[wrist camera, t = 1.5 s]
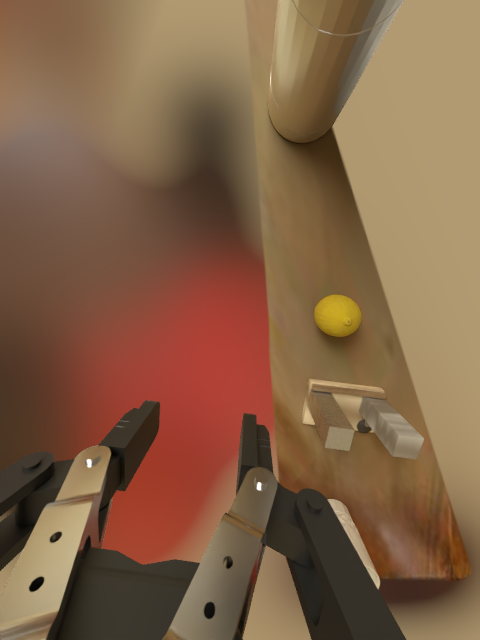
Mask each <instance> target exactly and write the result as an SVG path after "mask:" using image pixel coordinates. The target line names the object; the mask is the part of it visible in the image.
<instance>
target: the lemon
mask: <svg viewBox="0 0 480 640" xmlns="http://www.w3.org/2000/svg"><path fill="white" fill-rule="evenodd" d="M361 316H362V315H361V311H360V309H359V307H358V305H357V304H356V303H355V302H354V301H353V300H352V299H350V298H348V297H346V296H343V295H330V296H327V297H325V298H323V299H322V300H321V301H320V302H319V303H318V304H317V306H316V308H315V311H314V318H315V322H316V324H317V326H318V327H319V328H320V329H321V330H322V331H323V332H325V333H326V334H328V335H331V336H336V337H343V336H347V335H350V334H352V333H353V332H355V331H356V330H357V329H358V327H359V325H360V323H361Z"/></svg>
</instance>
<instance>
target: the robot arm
mask: <svg viewBox="0 0 480 640" xmlns="http://www.w3.org/2000/svg"><path fill="white" fill-rule="evenodd" d="M403 1H404V0H278V5H277V15H276V25H275V35H274V45H273V56H272V66H271V75H270V85H269V96H268V111H269V115H270V119H271V121H272V124H273V126H274V127H275V129H276V130H277V131H278V133H279V134H280V135H282V136H283V137H284V138H286V139H288V140H290V141H292V142H297V143H307V142H311V141H314V140H316V139H318V138H320V137H321V136H323V135H324V134H325V133H326V132H327V131H328V130H329V129H330V128H331V127H332V126H333V124H334V122H335V120H336V118H337V117H338V115H339V113H340V112H341V110H342V108H343V107H344V105H345V103H346V101H347V100H348V98H349V96H350V95H351V93H352V91H353V89H354V88H355V86H356V84H357V82H358V81H359V79H360V77H361V75H362V73H363V72H364V70H365V68H366V66H367V65H368V63H369V61H370V59H371V58H372V56H373V54H374V52H375V51H376V49H377V47H378V45H379V44H380V42H381V40H382V38H383V37H384V35H385V33H386V31H387V29H388V28H389V26H390V24H391V22H392V21H393V19H394V17H395V15H396V14H397V12H398V10H399V8H400V6H401V5H402V3H403ZM159 414H160V403H159V402H155V401H147V400H146V401H145V402H144V403H143V404H142V405H141V407H140V408H139V409H137V408H134V409H132V410H130V411H129V412H127V413H126V414H125V415H124V416H123V417H122V418H121V419H120V421H119V422H118V423H117V424H116V426H115V427H114V428H113V429H112V430H111V431H110V432H109V433H108V435H107V436H106V437H105V438H104V439H103V440H102V441H101V443H100V444H99V445H98V446H94V447H90V448H88V449H86V450H84V451H82V452H81V453H80V454H79V455H78V456H77V457H76V458H75V459H72V460H65V461H56V462H54V457H53V455H52V454H51V453H49V452H37V453H33V454H30V455H28V456H26V457H24V458H22V459H20V460H19V461H17V462H16V463H14V464H12V465H11V466H9V467H8V468H6V469H4V470H3V471H1V472H0V516H2V515H3V514H4V513H5V512H6V511H8V510H9V509H10V508H12V507H13V509H14V512H12V513H11V514H10V515H9V516H8V517H7V518H5V519H4V520H2V521H1V522H0V571H1V570H2V569H3V568H4V567H5V566H6V565H7V564H8V563H9V562H10V561H11V560H12V559H13V558H14V557H15V556H16V555H17V554H18V553H20V552H21V551H22V550H23V551H22V553H21V555H20V557H19V559H18V562H17V563H16V565H15V567H14V569H13V571H12V573H11V575H10V577H9V579H8V581H7V583H6V585H5V587H4V589H3V591H2V593H1V595H0V640H243V639H242V638H243V634H244V630H245V627H246V623H247V619H248V614H249V610H250V606H251V601H252V597H253V593H254V589H255V585H256V581H257V577H258V573H259V570H260V566H261V562H262V558H263V554H264V551H265V547H266V545H267V546H268V547H270V548H272V549H274V550H275V551H277V552H279V553H281V554H283V555H284V556H286V558H287V562H288V565H289V568H290V571H291V574H292V578H293V581H294V584H295V587H296V590H297V594H298V597H299V600H300V603H301V607H302V610H303V613H304V616H305V620H306V623H307V626H308V629H309V632H310V636H311V639H312V640H406V638H405V637H404V635H403V633H402V631H401V630H400V628H399V626H398V624H397V622H396V621H395V619H394V617H393V615H392V613H391V612H390V610H389V608H388V606H387V605H386V603H385V601H384V599H383V598H382V596H381V594H380V592H379V590H378V588H377V587H376V585H375V583H374V581H373V580H372V578H371V576H370V574H369V572H368V571H367V569H366V567H365V565H364V564H363V562H362V560H361V558H360V556H359V555H358V553H357V551H356V549H355V547H354V546H353V544H352V542H351V540H350V539H349V537H348V535H347V533H346V531H345V530H344V528H343V526H342V524H341V523H340V521H339V519H338V517H337V515H336V514H335V512H334V510H333V508H332V507H331V505H330V503H329V501H328V500H327V499H326V498H325V497H324V496H323V495H322V494H321V493H319V492H318V491H316V490H313V489H303V490H301V491H299V493H298V494H296V493H294V492H292V491H290V490H288V489H286V488H284V487H283V486H282V485H280V484H279V483H278V481H277V480H276V477H275V476H274V474H273V466H272V457H271V448H270V438H269V432H268V430H267V429H266V427H265V426H264V425H257V424H256V415H253V414H246V413H244V414H243V421H242V429H241V436H240V446H239V461H238V475H237V489H236V498H235V500H234V502H233V505H232V507H231V509H230V511H229V513H228V514H227V513H225V514H224V515H223V517H222V519H221V521H220V523H219V525H218V527H217V529H216V531H215V533H214V535H213V537H212V540H211V542H210V544H209V546H208V548H207V550H206V552H205V554H204V556H203V558H202V561H201V563H195V562H188V561H182V560H169V561H163V562H157V563H152V564H147V565H142V564H139V563H138V562H136V561H134V560H132V559H130V558H129V557H127V556H125V555H124V554H122V553H120V552H118V551H114V550H107V549H101V548H102V544H103V539H104V535H105V530H106V526H107V522H108V517H109V513H110V509H111V504H112V497H113V495H114V493H115V492H116V490H119V491H125V490H126V488H127V487H128V485H129V483H130V481H131V480H132V478H133V476H134V474H135V473H136V471H137V469H138V467H139V466H140V464H141V462H142V460H143V459H144V457H145V455H146V453H147V451H148V450H149V448H150V446H151V444H152V443H153V441H154V439H155V437H156V435H157V433H158V429H159Z"/></svg>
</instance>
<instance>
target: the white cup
mask: <svg viewBox="0 0 480 640" xmlns="http://www.w3.org/2000/svg"><path fill="white" fill-rule="evenodd" d="M327 500H328V501H329V503H330V505H331V507H332V508H333V510H334V512H335V514H336V515H337V517H338V519H339V521H340V523H341V524H342V526H343V528H344V530H345V531H346V533H347V535H348V537H349V539H350V540H351V542H352V544H353V546H354V547H355V549H356V551H357V553H358V555H359V556H360V558H361V560H362V562H363V564H364V565H365V567H366V569H367V571H368V572H369V574H370V576H371V578H372V580H373V581H374V583H375V585H376V587H377V588H378V589H379V586H380V579H379V576H378V574H377V572H376V570H375V567H374V565H373V563H372V561H371V558H370V556H369V554H368V552H367V550H366V547H365V545H364V543H363V541H362V538H361V536H360V534H359V532H358V530H357V528H356V526H355V524H354V523H353V521H352V518H351V516H350V514H349V512H348V509H347V507H346V506H345V505H344V504H343V503H342V502H341V501H338V500H335V499H327Z"/></svg>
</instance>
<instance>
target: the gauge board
mask: <svg viewBox="0 0 480 640" xmlns="http://www.w3.org/2000/svg"><path fill="white" fill-rule="evenodd" d="M311 388H312V389H313V390H315V391H323V392H331V394H332V395H333V397H334V398H335V400H336V401H337V403H338V405H339V406H340V408H341V409H342V411H343V412H344V414H345V416H346V417H347V419H348V420H349V422H350V423H351V425H352V426H353V428H354V430H357V431H359V432H361V433H368V432H372V433H373V432H375V434H376V435H377V436H378V438H379V439H380V440H381V442H382V443H383V444H384V446H385V447H386V448H387V450H388V451H389V452H390V454H391V455H392V456H395V457H402V458H410V459H417V458H418V455H419V452H420V449H421V446H422V444H423V441H424V438H423V437H422V436H421V435H420V434H419V433H418V432H417V431H416V430H415V429H414V428H413V427H412V426H411V425H410V424H409V423H408V422H407V421H406V420H405V419H404V418H403V417H402V416H401V415H400V414H399V413H398V412H397V411H396V410H395V409H394V408H393V407H392V406H391V405H390V404H389V403H388V402H387V401H386V400H385V399H386V398H387V395H385V394H384V393H385V391H384V390H383V389H382V388H379V387H371V386H363V385H355V384H348V383H340V382H332V381H324V380H316V379H309V382H308V387H307V392H306V397H305V402H304V407H303V412H302V417H301V420H302V423H304V424H311V425H315V423H314V420H313V418H312V415H311V413H310V410H309V408H308V406H307V404H308V399H309V394H310V389H311Z"/></svg>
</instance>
